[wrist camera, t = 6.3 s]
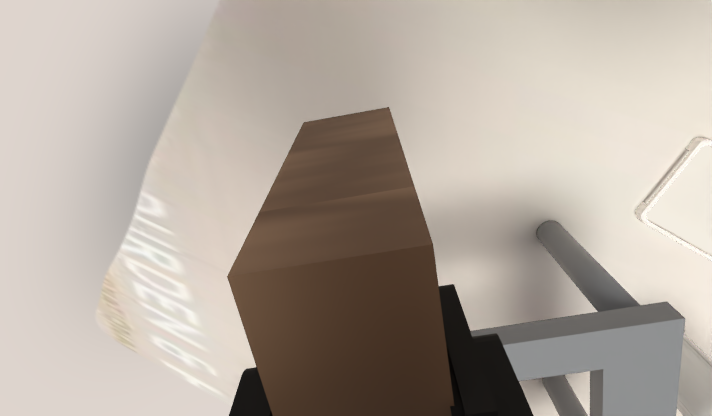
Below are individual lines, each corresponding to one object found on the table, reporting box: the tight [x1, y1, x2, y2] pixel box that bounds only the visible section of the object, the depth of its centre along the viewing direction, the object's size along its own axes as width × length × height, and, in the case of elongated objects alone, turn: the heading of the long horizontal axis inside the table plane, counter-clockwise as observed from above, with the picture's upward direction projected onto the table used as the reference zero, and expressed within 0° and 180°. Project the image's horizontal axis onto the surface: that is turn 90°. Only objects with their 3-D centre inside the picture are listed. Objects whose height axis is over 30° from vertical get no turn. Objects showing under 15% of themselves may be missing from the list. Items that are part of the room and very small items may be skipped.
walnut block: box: [227, 107, 454, 416], centre depth 13 cm, size 3×9×10 cm, turn 10°
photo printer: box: [677, 334, 712, 416], centre depth 36 cm, size 10×4×12 cm, turn 42°
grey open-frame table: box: [470, 221, 685, 416], centre depth 33 cm, size 18×18×16 cm
